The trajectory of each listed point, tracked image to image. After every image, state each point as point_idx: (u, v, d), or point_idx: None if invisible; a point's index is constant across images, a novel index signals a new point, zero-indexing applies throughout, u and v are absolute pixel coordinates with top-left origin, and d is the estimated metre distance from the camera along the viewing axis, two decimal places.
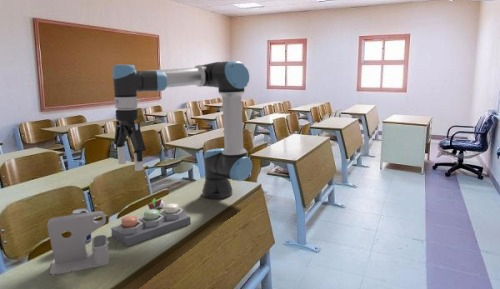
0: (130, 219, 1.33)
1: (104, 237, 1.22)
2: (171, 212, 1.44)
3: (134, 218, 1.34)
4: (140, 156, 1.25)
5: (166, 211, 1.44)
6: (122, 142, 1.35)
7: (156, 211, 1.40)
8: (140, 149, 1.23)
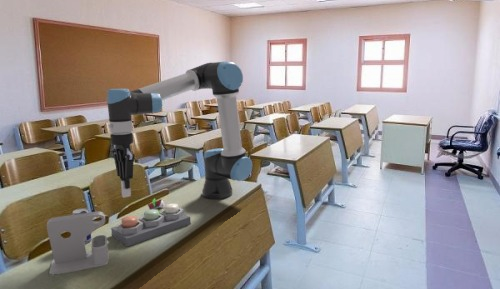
0: (130, 219, 1.33)
1: (104, 237, 1.22)
2: (171, 212, 1.44)
3: (134, 218, 1.34)
4: (127, 183, 1.29)
5: (166, 211, 1.44)
6: None
7: (156, 211, 1.40)
8: (127, 177, 1.27)
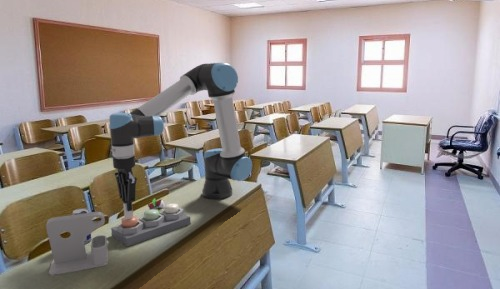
0: (130, 219, 1.33)
1: (104, 237, 1.22)
2: (171, 212, 1.44)
3: (134, 218, 1.34)
4: (130, 206, 1.31)
5: (166, 211, 1.44)
6: None
7: (156, 211, 1.40)
8: (129, 200, 1.29)
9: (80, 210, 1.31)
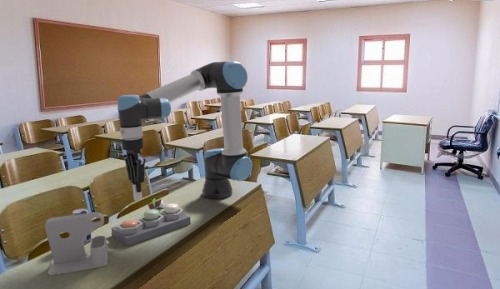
0: (130, 223, 1.33)
1: (103, 238, 1.22)
2: (171, 212, 1.44)
3: (134, 222, 1.34)
4: (139, 187, 1.33)
5: (166, 211, 1.44)
6: None
7: (156, 211, 1.40)
8: (139, 181, 1.31)
9: (80, 210, 1.31)
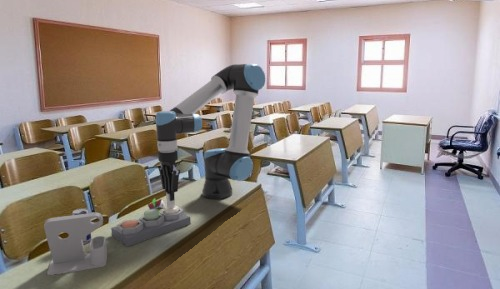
0: (130, 223, 1.33)
1: (103, 238, 1.21)
2: None
3: (134, 222, 1.34)
4: (172, 196, 1.44)
5: (166, 213, 1.44)
6: None
7: (156, 211, 1.40)
8: (173, 190, 1.41)
9: (80, 210, 1.31)
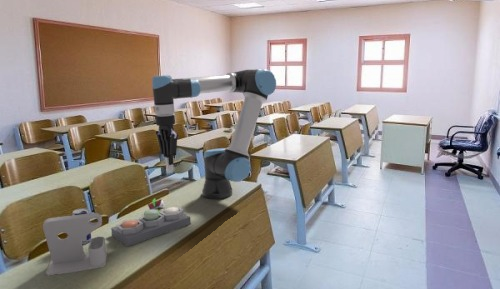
0: (130, 223, 1.33)
1: (102, 239, 1.21)
2: None
3: (134, 222, 1.34)
4: (171, 160, 1.45)
5: None
6: None
7: (156, 211, 1.40)
8: (172, 154, 1.43)
9: (80, 210, 1.31)
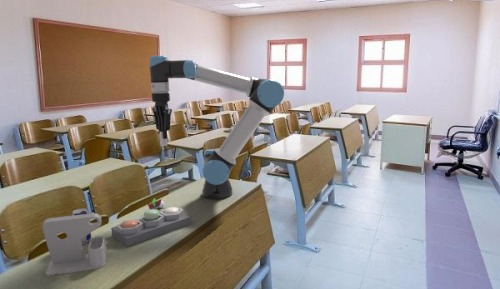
0: (130, 223, 1.33)
1: (102, 239, 1.21)
2: None
3: (134, 222, 1.34)
4: (165, 134, 1.58)
5: None
6: None
7: (156, 211, 1.40)
8: (165, 128, 1.56)
9: (80, 210, 1.31)
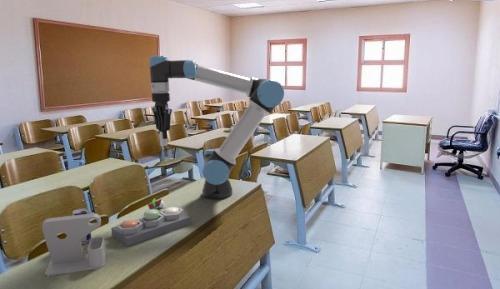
0: (130, 223, 1.33)
1: (102, 239, 1.21)
2: None
3: (134, 222, 1.34)
4: (165, 134, 1.58)
5: None
6: None
7: (156, 211, 1.40)
8: (165, 128, 1.56)
9: (80, 210, 1.31)
